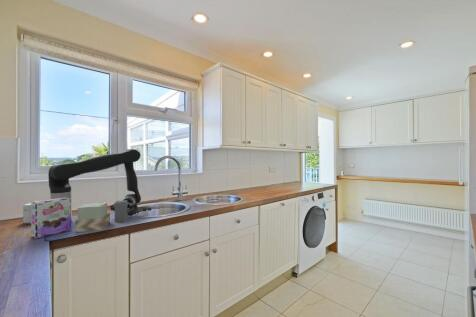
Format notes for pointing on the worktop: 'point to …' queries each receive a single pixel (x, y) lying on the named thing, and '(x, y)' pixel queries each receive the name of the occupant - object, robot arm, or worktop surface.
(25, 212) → the small box
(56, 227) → the candy box
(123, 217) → the grey block
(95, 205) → the sage block
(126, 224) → the worktop surface
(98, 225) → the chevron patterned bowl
